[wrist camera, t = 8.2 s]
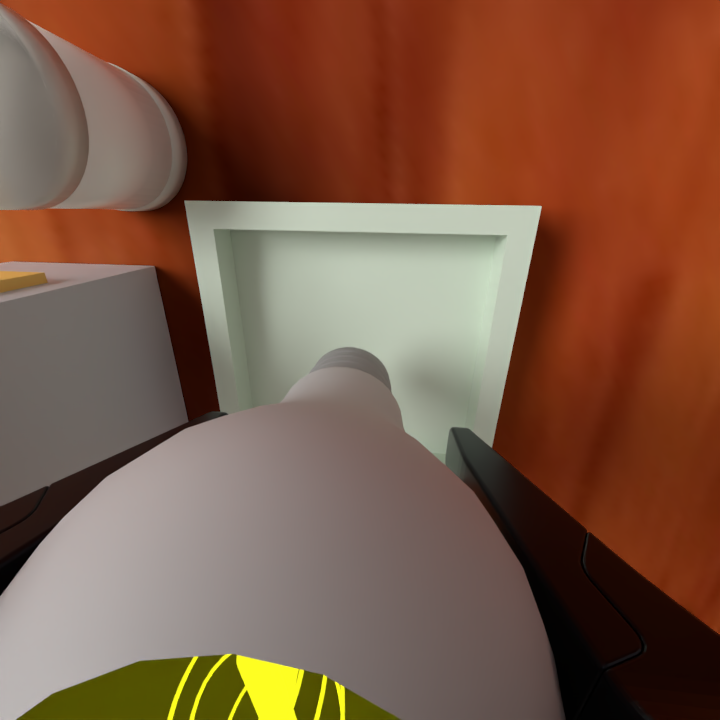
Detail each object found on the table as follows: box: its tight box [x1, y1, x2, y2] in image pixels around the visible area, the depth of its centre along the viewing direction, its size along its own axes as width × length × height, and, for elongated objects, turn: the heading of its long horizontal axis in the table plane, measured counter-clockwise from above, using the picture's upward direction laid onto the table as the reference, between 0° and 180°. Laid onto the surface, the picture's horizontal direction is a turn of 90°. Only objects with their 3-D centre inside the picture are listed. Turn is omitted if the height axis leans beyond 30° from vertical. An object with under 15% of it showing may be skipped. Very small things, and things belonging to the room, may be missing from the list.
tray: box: [184, 201, 542, 465], centre depth 13 cm, size 11×11×2 cm
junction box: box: [0, 262, 188, 506], centre depth 11 cm, size 6×9×9 cm
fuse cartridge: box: [0, 3, 187, 211], centre depth 9 cm, size 4×4×5 cm
